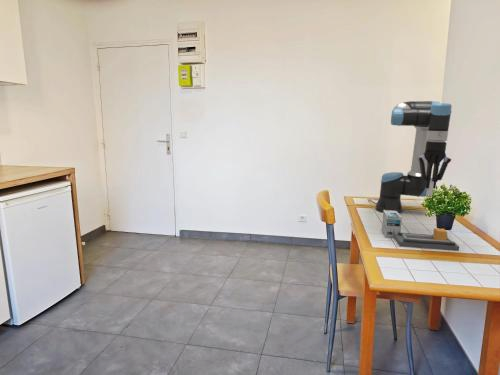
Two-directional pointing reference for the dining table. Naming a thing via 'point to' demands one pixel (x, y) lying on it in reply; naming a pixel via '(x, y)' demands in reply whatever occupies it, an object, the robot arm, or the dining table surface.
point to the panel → (424, 241)
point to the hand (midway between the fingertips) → (429, 195)
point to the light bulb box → (391, 223)
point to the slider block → (439, 234)
